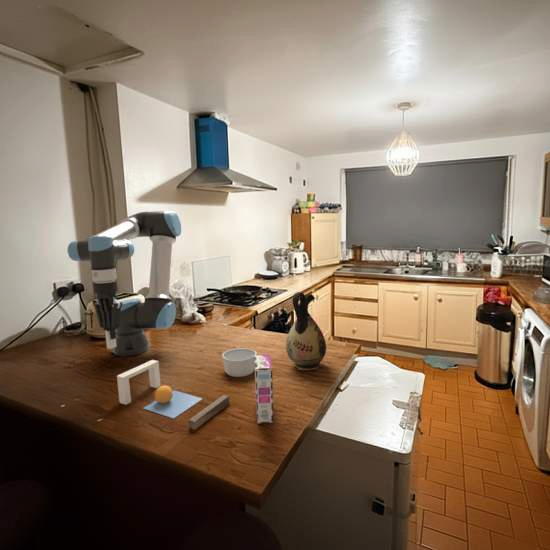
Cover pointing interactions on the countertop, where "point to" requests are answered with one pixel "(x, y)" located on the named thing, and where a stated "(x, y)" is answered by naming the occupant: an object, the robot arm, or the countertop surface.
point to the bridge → (124, 377)
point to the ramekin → (239, 362)
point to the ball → (163, 394)
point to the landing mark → (174, 405)
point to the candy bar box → (263, 389)
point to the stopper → (208, 412)
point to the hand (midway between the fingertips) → (111, 347)
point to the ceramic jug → (305, 336)
